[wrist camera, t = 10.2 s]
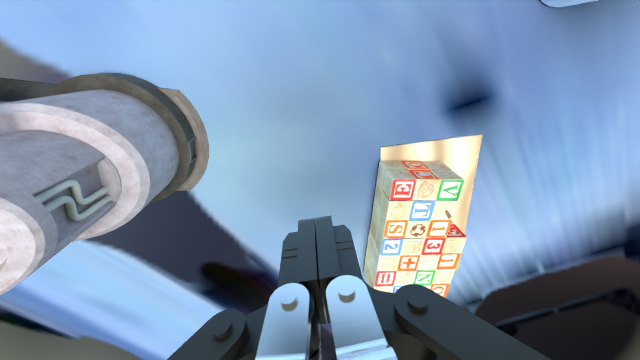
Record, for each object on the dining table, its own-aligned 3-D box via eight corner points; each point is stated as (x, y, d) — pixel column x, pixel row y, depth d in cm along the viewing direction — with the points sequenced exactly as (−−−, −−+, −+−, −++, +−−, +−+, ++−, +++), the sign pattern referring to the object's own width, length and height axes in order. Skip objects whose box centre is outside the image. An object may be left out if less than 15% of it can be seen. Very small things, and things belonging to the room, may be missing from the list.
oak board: (480, 134, 36) (482, 134, 35) (456, 268, 47) (458, 270, 47) (380, 147, 35) (381, 147, 35) (380, 279, 47) (381, 280, 47)
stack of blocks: (392, 178, 30) (488, 178, 31) (377, 160, 36) (460, 159, 37) (372, 301, 40) (447, 298, 40) (363, 271, 45) (429, 268, 46)
